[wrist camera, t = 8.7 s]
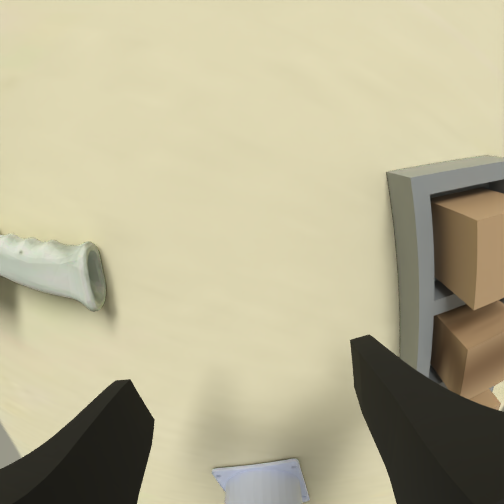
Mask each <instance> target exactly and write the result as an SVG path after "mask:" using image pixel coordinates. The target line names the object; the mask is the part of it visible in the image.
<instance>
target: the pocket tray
mask: <svg viewBox="0 0 504 504" xmlns="http://www.w3.org/2000/svg"><path fill="white" fill-rule="evenodd" d="M386 173H387V179H388V186H389V192H390V199H391V207H392V215H393V223H394V232H395V242H396V253H397V266H398V282H399V305H400V359H401V360H403V361H404V362H406V363H407V364H408V365H410V366H411V367H413V368H414V369H416V370H417V371H418V372H420V373H422V374H423V375H425V376H426V377H428V378H429V379H431V380H433V381H434V382H436V383H438V384H439V385H441V386H443V387H445V388H446V389H448V388H447V387H446V385H445V384H444V382H443V381H442V379H441V378H440V376H439V375H438V374H437V372H436V371H435V369H434V368H433V366H432V365H431V364H430V361H431V350H432V337H433V320H434V316H435V315H438V314H441V313H443V312H446V311H449V310H452V309H454V308H457V307H460V306H462V305H465V304H467V305H468V306H469V307H470V308H472V309H473V310H476V309H479V308H481V307H483V306H486V305H488V304H490V303H493V302H495V301H497V300H499V301H501V302H502V303H503V304H504V157H497V156H490V155H485V156H478V157H471V158H465V159H458V160H452V161H445V162H439V163H433V164H427V165H422V166H416V167H410V168H405V169H399V170H394V171H388V172H386ZM493 388H494V386H493V387H491V388H489V389H487V390H485V391H484V392H482V393H480V394H478V395H476V396H474V397H472V398H470V399H469V400H471V401H474V402H476V403H479V404H482V405H484V406H487V407H490V408H493V409H496V410H499V407H500V404H501V403H500V402H499V401H498V399H497V398H496V397H495V395H494V394H493V393H492V391H493Z"/></svg>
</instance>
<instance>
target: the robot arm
mask: <svg viewBox="0 0 504 504" xmlns="http://www.w3.org/2000/svg"><path fill="white" fill-rule="evenodd" d="M350 343H351V353H352V364H353V376H354V388H355V391H356V394H357V397H358V401H359V404H360V407H361V411H362V414H363V416H364V418H365V421H366V423H367V425H368V427H369V430H370V432H371V434H372V437H373V439H374V441H375V443H376V446H377V448H378V450H379V453H380V455H381V457H382V459H383V462H384V464H385V466H386V469H387V472H388V475H389V477H390V481H391V484H392V488H393V492H394V495H395V499H396V503H397V504H504V412H502V411H499V410H496V409H493V408H490V407H487V406H484V405H482V404H479V403H476V402H474V401H471V400H469V399H467V398H465V397H463V396H460V395H458V394H456V393H454V392H452V391H450V390H448V389H446V388H445V387H443V386H441V385H439V384H438V383H436V382H434V381H433V380H431V379H429V378H428V377H426V376H425V375H423V374H422V373H420V372H418V371H417V370H416V369H414V368H413V367H411V366H410V365H408V364H407V363H406V362H404V361H403V360H401V359H400V358H399V357H397V356H396V355H395V354H394V353H392V352H391V351H390V350H388V349H387V348H386V347H385V346H383V345H382V344H381V343H380V342H378V341H377V340H376V339H375V338H374V337H372V336H371V335H366V336H362V337H359V338H355V339H352V340H350ZM153 430H154V418H153V417H152V415H151V413H150V412H149V410H148V409H147V407H146V405H145V404H144V402H143V400H142V399H141V397H140V395H139V394H138V392H137V390H136V389H135V387H134V385H133V383H132V382H131V380H130V379H129V380H117V381H115V382H113V383H112V384H111V385H110V386H108V387H107V388H106V389H105V390H104V391H103V392H102V393H101V394H99V395H98V396H97V397H96V398H95V399H94V400H93V401H92V402H91V403H90V404H89V405H88V406H87V407H86V408H85V409H83V410H82V411H81V412H80V413H79V414H78V415H77V416H76V417H75V418H74V419H73V420H72V421H70V422H69V423H68V424H67V425H66V426H65V427H64V428H62V429H61V430H60V431H59V432H58V433H57V434H55V435H54V436H53V437H52V438H50V439H49V440H48V441H47V442H45V443H44V444H42V445H41V446H40V447H38V448H37V449H35V450H34V451H32V452H31V453H29V454H28V455H26V456H24V457H22V458H21V459H19V460H17V461H15V462H14V463H12V464H10V465H8V466H6V467H4V468H2V469H0V504H137V501H138V495H139V491H140V488H141V484H142V480H143V476H144V472H145V469H146V465H147V461H148V457H149V453H150V450H151V445H152V439H153ZM212 474H213V476H214V477H215V479H216V480H217V481H218V483H219V484H220V486H221V487H222V488H223V490H224V491H225V504H302V502H307V501H309V500H310V498H309V494H308V491H307V487H306V484H305V481H304V477H303V474H302V471H301V467H300V464H299V460H298V459H287V460H281V461H275V462H268V463H261V464H254V465H245V466H235V467H224V468H214V469H212Z"/></svg>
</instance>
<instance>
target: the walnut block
mask: <svg viewBox="0 0 504 504" xmlns="http://www.w3.org/2000/svg"><path fill="white" fill-rule="evenodd" d="M430 364H431V365H432V366H433V368H434V369H435V371H436V372H437V374H438V375H439V376H440V378H441V379H442V381H443V382H444V384H445V385H446V387H447V388H448V390H450V391H452V392H454V393H456V394H458V395H460V396H463V397H465V398H467V399H470V398H472V397H474V396H476V395H478V394H480V393H482V392H484V391H485V390H487V389H489V388H491V387H493V386H495V385H496V384H498V383H500V382H501V381H503V380H504V304H503V303H502V302H501V301H499V300H497V301H495V302H493V303H490V304H488V305H486V306H483V307H481V308H479V309H476V310H473V309H472V308H470V307H469V306H468V305H467V304H465V305H462V306H460V307H457V308H454V309H452V310H449V311H446V312H443V313H441V314H438V315H435V316H434V320H433V337H432V350H431V361H430Z"/></svg>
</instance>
